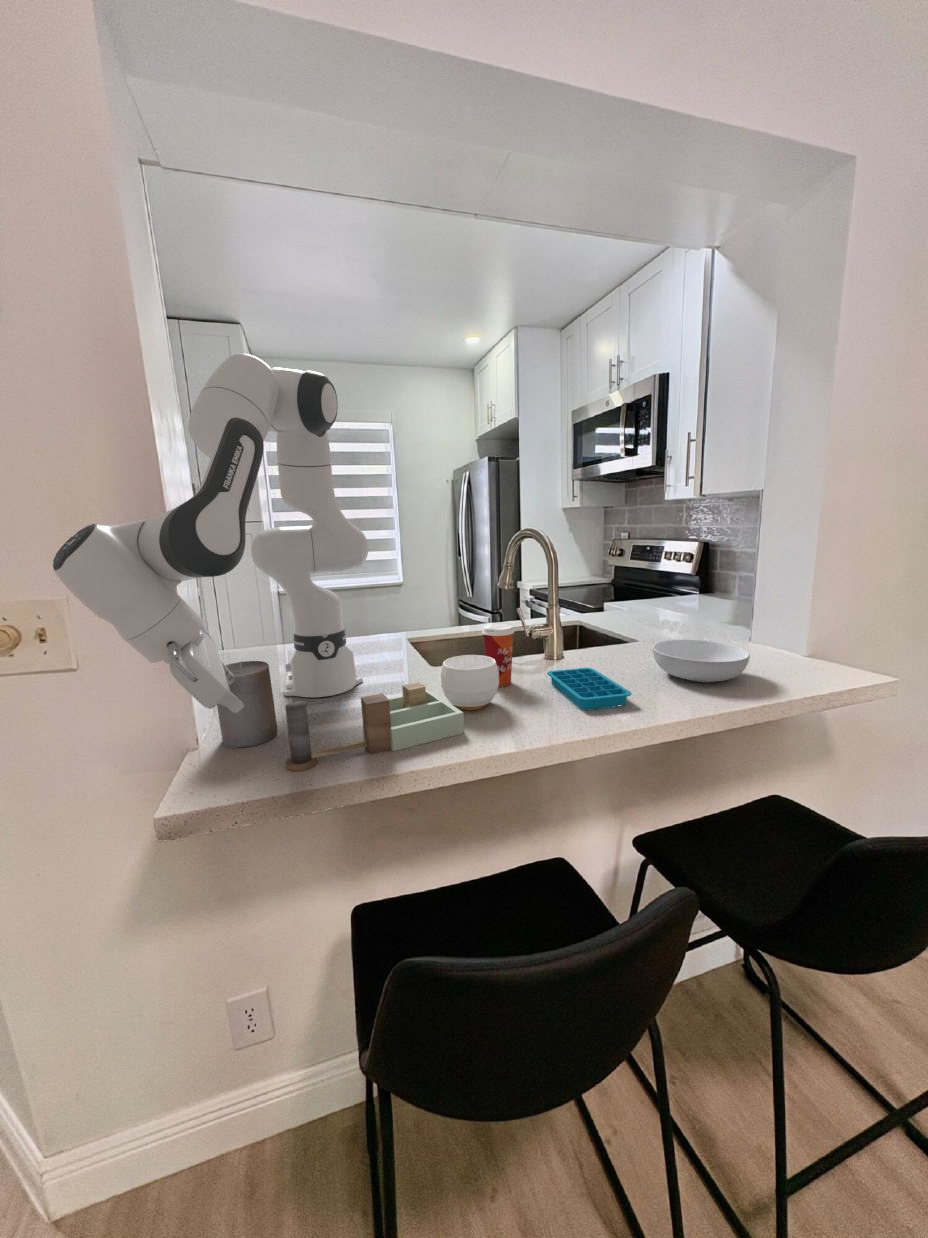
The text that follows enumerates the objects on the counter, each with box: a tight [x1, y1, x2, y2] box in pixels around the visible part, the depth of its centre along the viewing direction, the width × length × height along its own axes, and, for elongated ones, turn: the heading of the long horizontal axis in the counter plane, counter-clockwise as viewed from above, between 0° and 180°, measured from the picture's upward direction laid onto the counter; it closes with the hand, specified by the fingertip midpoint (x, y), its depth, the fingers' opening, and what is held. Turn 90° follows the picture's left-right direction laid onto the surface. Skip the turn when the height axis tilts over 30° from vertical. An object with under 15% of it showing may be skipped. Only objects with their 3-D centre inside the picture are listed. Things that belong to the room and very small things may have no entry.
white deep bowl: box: [440, 654, 499, 711], centre depth 105 cm, size 12×12×10 cm
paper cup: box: [481, 623, 515, 688], centre depth 119 cm, size 8×8×14 cm
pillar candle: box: [217, 660, 278, 749], centre depth 93 cm, size 10×10×15 cm
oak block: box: [401, 681, 427, 708], centre depth 99 cm, size 4×4×7 cm
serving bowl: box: [652, 639, 751, 683], centre depth 119 cm, size 21×21×7 cm
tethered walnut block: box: [284, 692, 392, 772], centre depth 84 cm, size 5×18×10 cm, turn 115°
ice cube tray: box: [547, 667, 632, 711], centre depth 111 cm, size 12×20×3 cm, turn 11°
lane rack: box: [387, 689, 465, 752], centre depth 95 cm, size 15×14×4 cm
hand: (235, 694), depth 78 cm, fingers open, 8 cm apart
